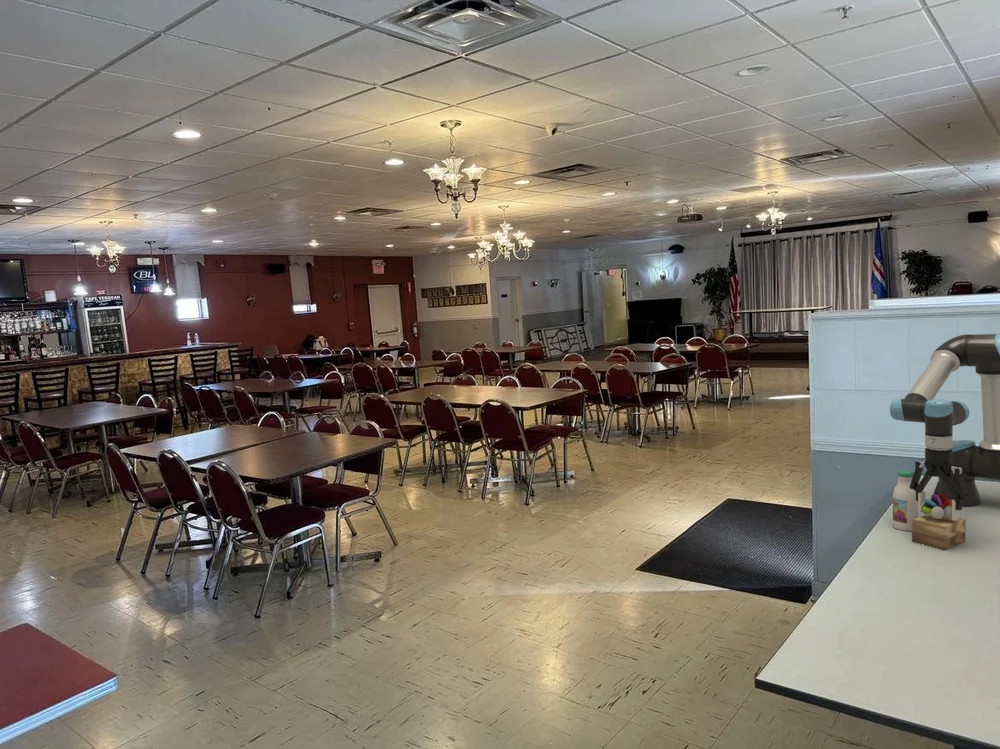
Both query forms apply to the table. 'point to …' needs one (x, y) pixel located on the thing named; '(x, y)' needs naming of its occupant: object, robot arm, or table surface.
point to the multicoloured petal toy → (937, 506)
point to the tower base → (938, 540)
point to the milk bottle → (904, 502)
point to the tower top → (938, 526)
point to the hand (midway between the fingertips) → (938, 515)
